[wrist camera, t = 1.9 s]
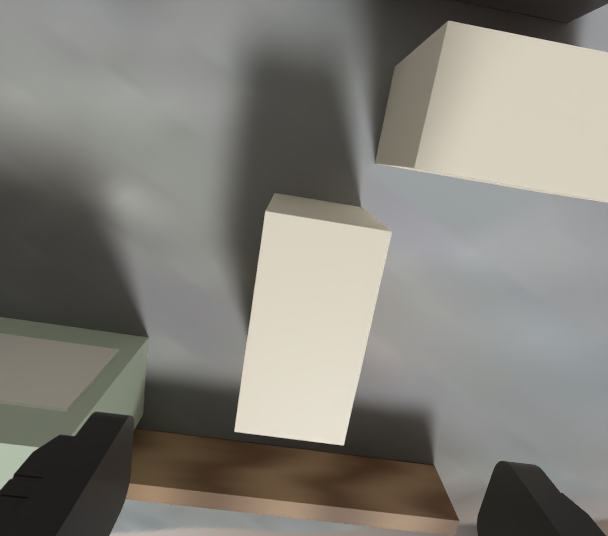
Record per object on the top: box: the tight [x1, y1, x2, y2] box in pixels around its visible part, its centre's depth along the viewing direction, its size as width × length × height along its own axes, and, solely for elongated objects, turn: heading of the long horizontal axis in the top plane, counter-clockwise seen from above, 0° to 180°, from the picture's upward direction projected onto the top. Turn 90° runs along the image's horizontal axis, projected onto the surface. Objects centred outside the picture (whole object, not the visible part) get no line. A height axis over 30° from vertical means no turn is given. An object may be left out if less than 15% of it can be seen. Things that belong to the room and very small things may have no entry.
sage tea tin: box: [0, 317, 149, 490], centre depth 19 cm, size 8×5×9 cm, turn 80°
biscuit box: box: [234, 193, 392, 446], centre depth 19 cm, size 5×9×7 cm, turn 170°
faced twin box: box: [375, 21, 608, 203], centre depth 17 cm, size 5×9×7 cm, turn 81°
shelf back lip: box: [126, 429, 459, 536], centre depth 23 cm, size 26×1×4 cm, turn 81°
